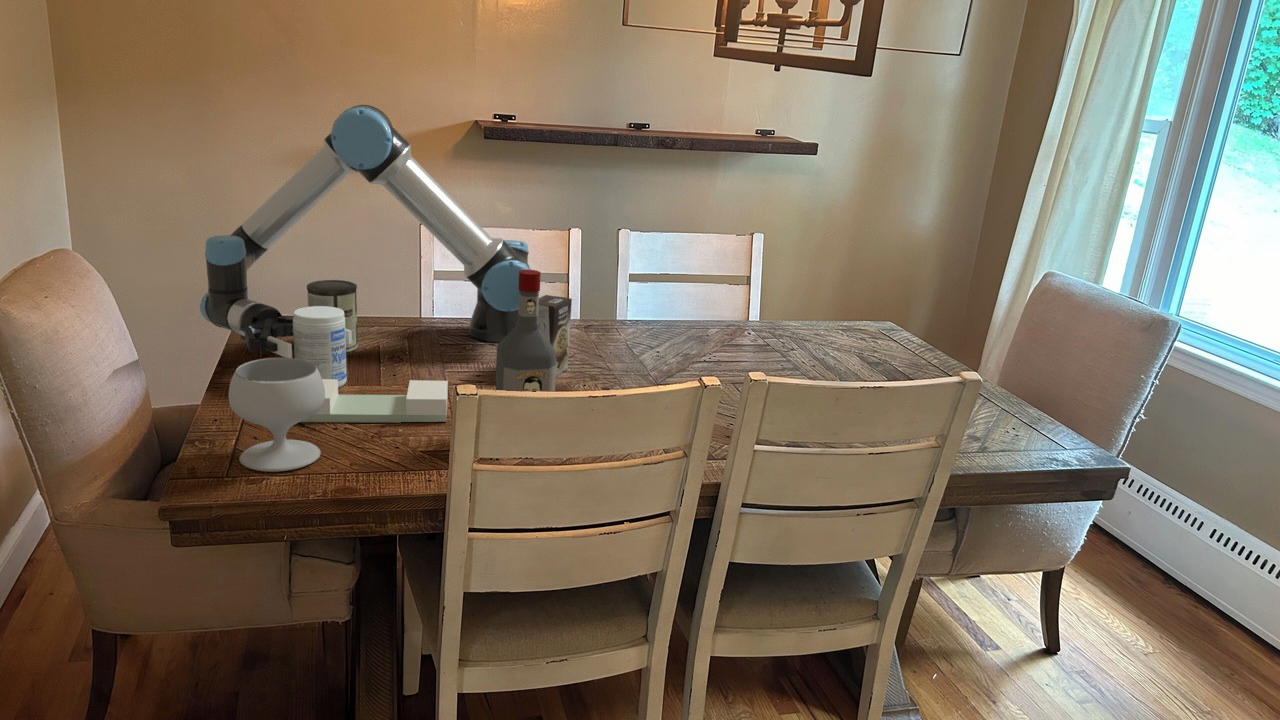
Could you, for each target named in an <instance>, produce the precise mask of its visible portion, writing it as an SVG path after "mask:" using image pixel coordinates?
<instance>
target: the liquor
mask: <svg viewBox="0 0 1280 720" xmlns="http://www.w3.org/2000/svg"><path fill="white" fill-rule="evenodd" d="M541 273H542V272H541V271H540V270H535V269H531V270H521V271H519V288H518V290H519V309H518V320H517V322H516V327H515V328H514V329H513V330H512V331H511V332H510V333H509V334H508V335H507V336H506V337H505V338H504V339H503V340H502V341H501V342H498V346H497V347H496V361H495V362H496V363H495V364H496V367H495V368H496V369H495V391H496V390H506V391H532V392H536V391H555V392H556V378H557V376H556V359H557V355H556V352H555V349H554V348H553V346H552V345H551V344H550V342H549V341H548V340H547V338H546V337H545V336H544V334H543V333H542V332H541V330H540V329H539V322H538V304H539V298H540V297H539V296H540V292H541Z"/></svg>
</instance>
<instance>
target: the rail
mask: <svg viewBox="0 0 1280 720" xmlns="http://www.w3.org/2000/svg"><path fill="white" fill-rule="evenodd" d="M322 380H323V384H324V388H325V399H324V402H323V404H322V406H321V408H320V409H319V410H318V411H317V412H316V413H315V414H313V415H312V416H311V417H309V418H307V419H305V420H303V421H301V422H300V423H401V422H438V421H440V422H441V421H443V422H444V421H445V422H446V423H447V417H446V416H448V415H447V414H448V390H449V389H448V386H449V383H448V381H449V380H426V379H425V380H417V379H416V380H415V379H412V380H411V379H410V380H409V384H408V388H407V391H406V392H407V394H342V393H341V394H339V387H338V379H322Z"/></svg>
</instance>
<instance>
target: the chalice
mask: <svg viewBox="0 0 1280 720" xmlns="http://www.w3.org/2000/svg"><path fill="white" fill-rule="evenodd" d="M324 399H325V388H324V384H323V380H322V378H321V375H320V373H319V371H318V369H317V368H316V366H315V365H314V364H312V363H311V362H309V361H306V360H302V359H296V358H295V357H292V358H286V357H269V358H268V357H267V358H259V359H255V360H250V361H248V362H244V363H243V364H241V365H239V366H238V367H237V368H236V369H235V371H234V373H233V375H232V377H231V380H230V383H229V387H228V403H229V406H230V408H231V410H232V411H233V412H234V414H236V416H237V417H239V418H240V419H243V420H244V421H247V422H249V423H252V424H255V425H259V426H261V427H263V428H266V429H267V430H268V431H270V433H271V434H272V436H273V439H272V440H269V441H265V442H260V443H256V444H254V445H252V446H249V447H247V448H246V449H245V450H244V451H243V452H241V453H240V455H239V458H238V461H239V462H240V464H241V465H243V466H244V467H245V468H247V469H251V470H254V471H260V472H274V473H275V472H277V473H278V472H286V471H292V470H293V471H294V470H298V469H301V468H304V467H306V466H309V465H311V464H313V463H315V462H316V461H317V460H319V458H320V457H321V456H322V455H321V454H322V452H321V449H320V448H319V447H318V446H316V445H315V444H314V443H312V442H308V441H306V440H298V439H287V434H288V432H289V430H290V429H291V428H292V427H293V426H294V425H297V424H298V423H302V422H301V421H303V420H305V419H307V418H309V417H311V416H312V415H313V414H315V413H316V412H317V411H318V410H319V409H320V408H321V406H322V404H323V402H324Z"/></svg>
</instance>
